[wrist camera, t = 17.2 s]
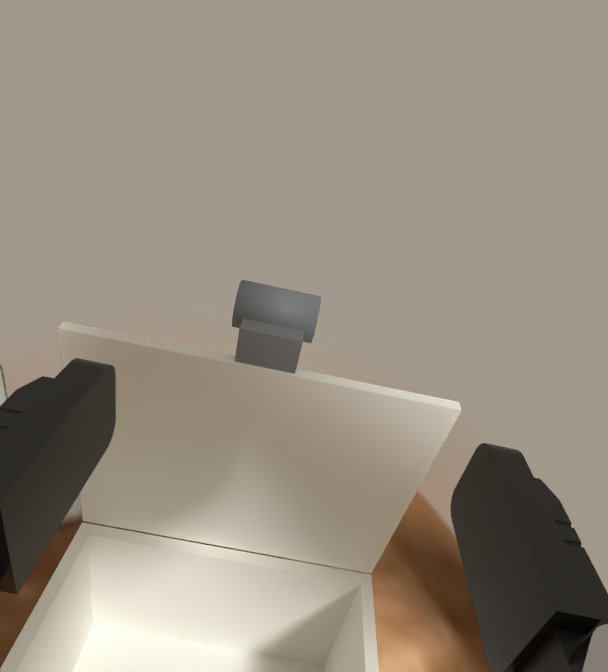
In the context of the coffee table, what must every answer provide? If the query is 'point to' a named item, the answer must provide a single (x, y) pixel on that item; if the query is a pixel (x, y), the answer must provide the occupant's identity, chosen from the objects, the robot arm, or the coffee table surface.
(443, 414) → the flap
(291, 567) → the carton
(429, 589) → the coffee table surface
